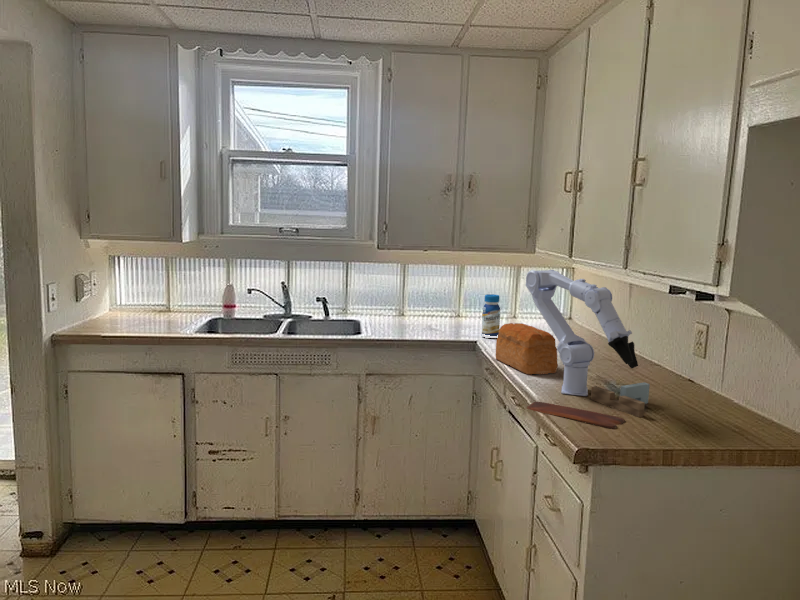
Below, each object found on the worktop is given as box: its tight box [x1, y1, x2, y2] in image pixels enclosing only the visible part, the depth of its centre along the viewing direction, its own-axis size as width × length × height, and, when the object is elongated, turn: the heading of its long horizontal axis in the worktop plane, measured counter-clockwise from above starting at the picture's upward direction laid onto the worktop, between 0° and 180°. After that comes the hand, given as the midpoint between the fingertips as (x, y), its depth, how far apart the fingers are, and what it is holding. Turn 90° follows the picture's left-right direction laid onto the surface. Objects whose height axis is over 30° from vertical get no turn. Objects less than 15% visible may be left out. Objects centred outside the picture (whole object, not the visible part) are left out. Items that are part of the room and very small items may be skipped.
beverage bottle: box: [481, 293, 501, 336], centre depth 273 cm, size 8×8×20 cm
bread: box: [495, 322, 559, 375], centre depth 220 cm, size 14×27×15 cm, turn 18°
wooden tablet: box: [526, 401, 626, 430], centre depth 166 cm, size 27×10×2 cm, turn 52°
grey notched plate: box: [619, 382, 650, 405], centre depth 176 cm, size 10×2×6 cm, turn 118°
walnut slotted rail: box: [590, 385, 646, 418], centre depth 173 cm, size 18×2×4 cm, turn 28°
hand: (632, 364), depth 167 cm, fingers open, 7 cm apart
